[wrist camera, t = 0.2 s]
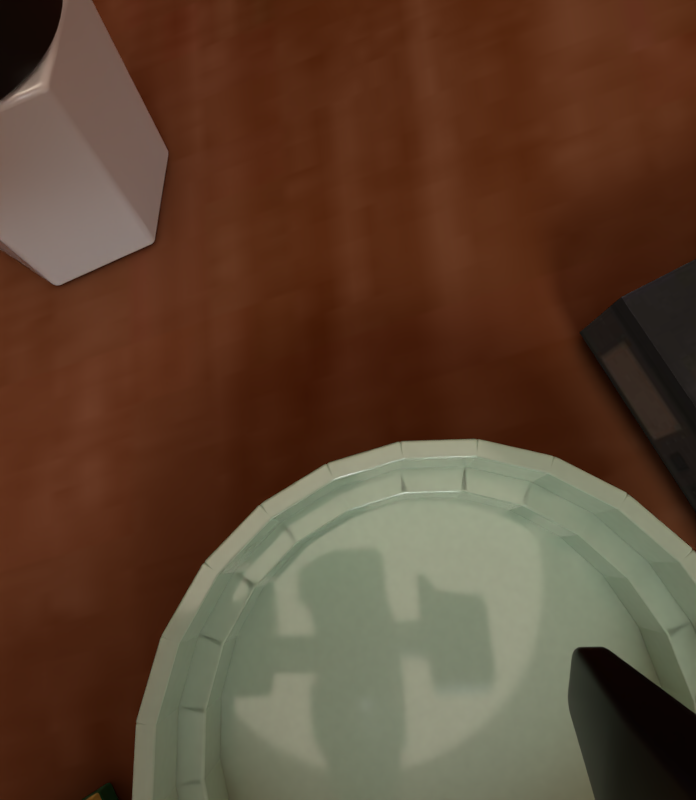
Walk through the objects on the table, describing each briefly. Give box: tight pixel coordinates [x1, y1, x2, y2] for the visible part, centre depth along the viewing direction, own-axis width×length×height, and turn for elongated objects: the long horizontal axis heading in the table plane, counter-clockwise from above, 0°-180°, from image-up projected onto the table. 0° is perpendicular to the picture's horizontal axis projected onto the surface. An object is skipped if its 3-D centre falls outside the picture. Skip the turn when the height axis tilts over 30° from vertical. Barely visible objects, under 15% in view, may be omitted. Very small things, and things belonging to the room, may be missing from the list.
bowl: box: [132, 439, 696, 800], centre depth 19 cm, size 18×18×5 cm
